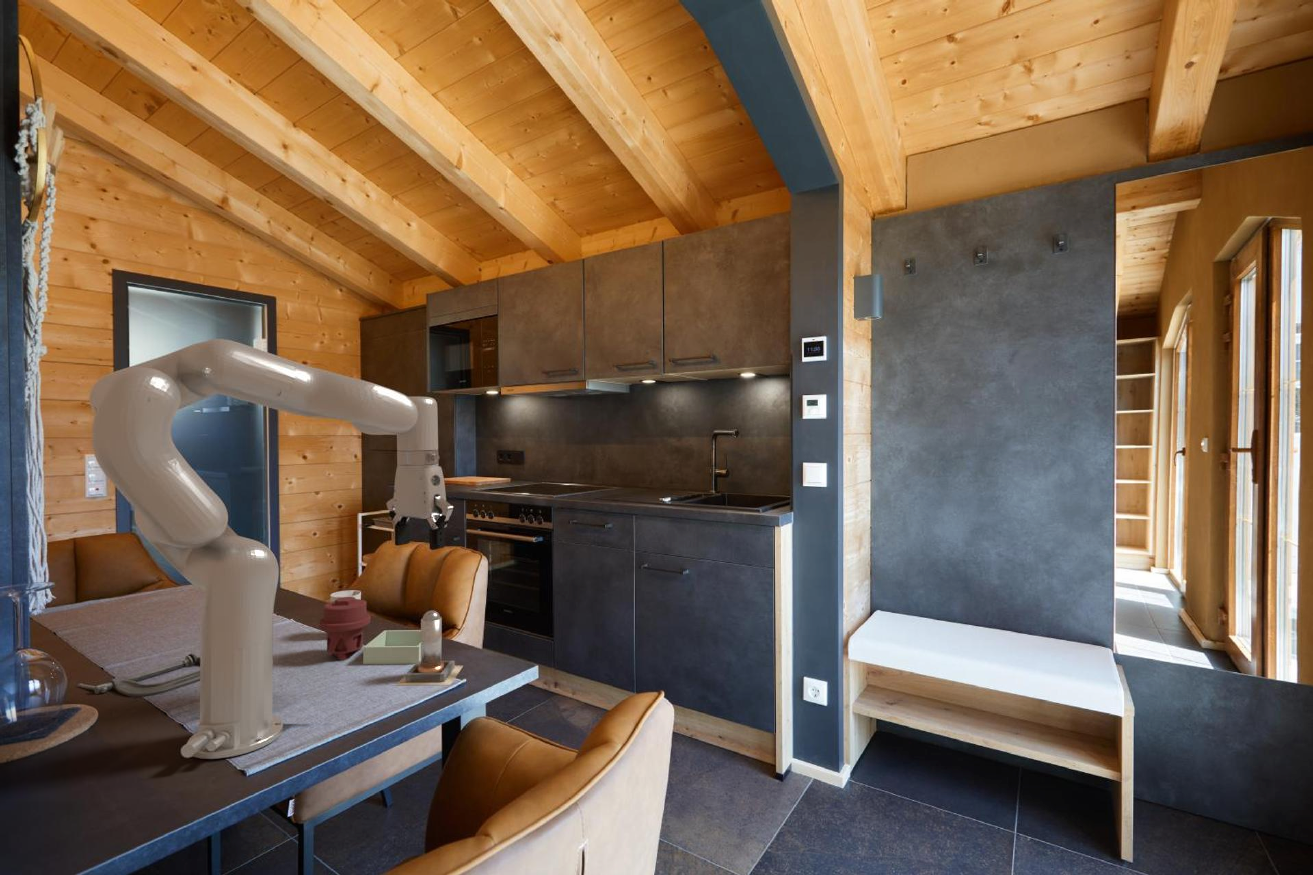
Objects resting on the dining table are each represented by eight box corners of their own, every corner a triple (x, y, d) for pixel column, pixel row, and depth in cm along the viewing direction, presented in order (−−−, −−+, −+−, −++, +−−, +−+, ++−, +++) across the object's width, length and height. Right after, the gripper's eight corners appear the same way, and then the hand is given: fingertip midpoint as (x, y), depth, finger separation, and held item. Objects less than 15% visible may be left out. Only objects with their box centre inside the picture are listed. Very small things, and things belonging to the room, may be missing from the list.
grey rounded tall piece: (439, 679, 120) (440, 614, 120) (414, 679, 120) (414, 614, 120) (446, 670, 125) (447, 607, 125) (422, 670, 125) (423, 607, 125)
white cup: (366, 633, 151) (367, 592, 151) (340, 641, 145) (341, 598, 145) (350, 629, 154) (350, 588, 154) (324, 636, 149) (324, 594, 149)
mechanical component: (346, 666, 130) (307, 660, 133) (380, 650, 139) (344, 645, 142) (346, 606, 130) (308, 602, 133) (380, 595, 139) (344, 591, 142)
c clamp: (117, 709, 110) (117, 694, 110) (76, 689, 118) (76, 674, 118) (240, 672, 127) (240, 658, 127) (197, 656, 136) (197, 644, 136)
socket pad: (449, 691, 118) (449, 676, 118) (395, 691, 117) (395, 677, 117) (463, 671, 128) (463, 658, 128) (413, 671, 127) (413, 658, 127)
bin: (418, 669, 128) (419, 646, 128) (363, 669, 128) (363, 647, 128) (435, 650, 140) (435, 630, 140) (384, 650, 139) (384, 630, 139)
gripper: (464, 459, 122) (466, 546, 122) (403, 457, 130) (405, 539, 130) (434, 461, 115) (436, 554, 115) (372, 459, 123) (373, 546, 124)
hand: (419, 546), depth 123 cm, fingers open, 9 cm apart
